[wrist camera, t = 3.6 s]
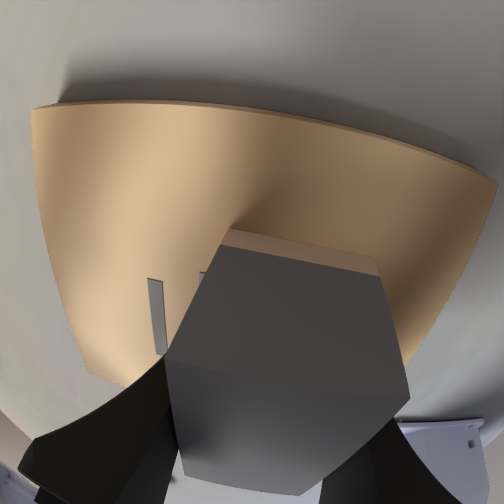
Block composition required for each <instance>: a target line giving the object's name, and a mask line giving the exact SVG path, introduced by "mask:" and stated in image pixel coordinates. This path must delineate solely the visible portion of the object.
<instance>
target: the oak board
mask: <svg viewBox="0 0 504 504" xmlns="http://www.w3.org/2000/svg"><path fill="white" fill-rule="evenodd" d="M31 139H32V154H33V165H34V174H35V183H36V190H37V197H38V204H39V210H40V216H41V221H42V226H43V231H44V236H45V241H46V245H47V250H48V254H49V258H50V262H51V266H52V270H53V273H54V277H55V281H56V284H57V287H58V291H59V294H60V297H61V301H62V304H63V307H64V310H65V313H66V316H67V319H68V321H69V324H70V327H71V330H72V333H73V335H74V338H75V340H76V343H77V346H78V348H79V351H80V353H81V355H82V358H83V360H84V363H85V365H86V367H87V369H88V372H89V373H91V374H93V375H96V376H98V377H100V378H103V379H105V380H108V381H110V382H113V383H115V384H118V385H121V386H123V387H126V388H128V387H129V386H130V385H131V384H133V383H134V382H135V381H136V380H137V379H139V378H140V377H141V376H142V375H143V374H144V373H145V372H146V371H148V370H149V369H150V368H151V367H152V366H153V365H154V364H155V363H156V362H157V361H158V360H159V359H160V358H161V357H162V356H163V355H164V354H165V353H166V352H167V351H168V348H169V346H170V344H171V342H172V340H173V338H174V336H175V334H176V332H177V330H178V328H179V326H180V323H181V321H182V319H183V317H184V315H185V313H186V311H187V309H188V307H189V305H190V303H191V301H192V299H193V297H194V295H195V293H196V291H197V289H198V287H199V285H200V283H201V281H202V279H203V277H204V275H205V273H206V271H207V269H208V267H209V265H210V263H211V261H212V259H213V257H214V255H215V253H216V251H217V249H218V247H219V245H220V243H221V241H222V239H223V238H224V236H225V234H226V232H227V230H228V228H231V229H236V230H241V231H246V232H251V233H256V234H261V235H266V236H271V237H276V238H281V239H286V240H291V241H296V242H301V243H306V244H311V245H316V246H321V247H326V248H330V249H335V250H340V251H345V252H349V253H354V254H359V255H363V256H368V257H373V258H374V260H375V264H376V267H377V270H378V273H379V276H380V279H381V282H382V285H383V289H384V292H385V295H386V299H387V302H388V306H389V309H390V313H391V316H392V320H393V324H394V327H395V331H396V335H397V339H398V343H399V347H400V351H401V355H402V360H403V364H404V367H405V366H406V364H407V363H408V361H409V360H410V359H411V357H412V356H413V354H414V353H415V351H416V350H417V348H418V347H419V345H420V344H421V342H422V341H423V339H424V338H425V336H426V335H427V333H428V332H429V330H430V328H431V327H432V325H433V324H434V322H435V320H436V319H437V317H438V315H439V314H440V312H441V310H442V309H443V307H444V305H445V303H446V302H447V300H448V298H449V296H450V294H451V293H452V291H453V289H454V287H455V285H456V283H457V281H458V279H459V278H460V276H461V274H462V272H463V270H464V268H465V266H466V263H467V261H468V259H469V257H470V255H471V253H472V251H473V249H474V246H475V244H476V242H477V240H478V237H479V235H480V233H481V230H482V228H483V225H484V223H485V220H486V218H487V215H488V213H489V210H490V207H491V205H492V202H493V199H494V196H495V194H496V191H497V188H498V185H499V184H498V183H497V182H495V181H494V180H492V179H491V178H489V177H488V176H486V175H485V174H483V173H481V172H480V171H478V170H476V169H474V168H472V167H469V166H467V165H464V164H462V163H460V162H457V161H455V160H452V159H450V158H447V157H444V156H442V155H439V154H436V153H434V152H431V151H428V150H425V149H422V148H420V147H417V146H414V145H411V144H408V143H405V142H401V141H398V140H395V139H392V138H389V137H385V136H382V135H378V134H375V133H371V132H368V131H364V130H360V129H356V128H353V127H349V126H345V125H340V124H336V123H332V122H327V121H323V120H318V119H314V118H309V117H304V116H298V115H293V114H288V113H282V112H276V111H270V110H263V109H256V108H249V107H241V106H233V105H224V104H214V103H202V102H189V101H170V100H97V101H79V102H66V103H56V104H52V105H47V106H43V107H39V108H35V109H31Z"/></svg>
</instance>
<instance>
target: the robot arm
mask: <svg viewBox="0 0 504 504" xmlns="http://www.w3.org/2000/svg"><path fill="white" fill-rule="evenodd" d="M166 353H167V352H166ZM166 353H165V354H164V355H163V356H162V357H161V358H160V359H159V360H158V361H157V362H156V363H155V364H154V365H153V366H152V367H151V368H150V369H149V370H148V371H146V372H145V373H144V374H143V375H142V376H141V377H140V378H139V379H137V380H136V381H135V382H134V383H133V384H131V385H130V386H129V387H128V388H126V389H125V390H124V391H122V392H121V393H120V394H118V395H117V396H116V397H114V398H113V399H111V400H110V401H108V402H107V403H105V404H104V405H102V406H101V407H99V408H98V409H96V410H94V411H93V412H91V413H89V414H87V415H86V416H84V417H82V418H80V419H78V420H76V421H74V422H72V423H70V424H69V425H66V426H64V427H62V428H60V429H57V430H55V431H53V432H50V433H48V434H45V435H43V436H40V437H38V438H35V439H34V440H33V442H32V443H31V445H30V446H29V447H28V449H27V451H26V452H25V454H24V456H23V458H22V460H21V462H20V464H19V466H18V471H19V472H20V473H21V474H23V475H24V476H25V477H27V478H28V479H29V480H31V481H32V482H34V483H35V484H37V485H38V486H40V488H39V489H37V488H36V487H34V486H32V485H31V484H30V483H29V481H27V480H26V479H25V478H23V477H22V476H21V475H19V474H18V473H16V472H15V471H14V470H13V469H11V468H10V467H9V466H7V465H6V464H4V463H3V462H2V461H0V504H164V500H165V496H166V493H167V489H168V485H169V481H170V478H171V474H172V470H173V467H174V463H175V460H176V456H177V453H178V450H179V446H178V441H177V436H176V431H175V425H174V420H173V414H172V408H171V402H170V396H169V389H168V382H167V375H166V368H165V360H164V357H165V355H166ZM483 424H484V420H483V419H472V420H461V421H448V422H427V423H397V422H396V420H395V419H394V417H392V419H391V420H390V421H389V422H388V423H387V424H386V425H385V426H384V427H383V428H382V429H381V430H379V431H378V432H377V433H376V434H375V435H374V436H373V437H372V438H371V439H370V440H369V441H368V442H367V443H366V444H365V445H363V446H362V447H361V448H360V449H359V450H358V451H357V452H356V453H354V454H353V455H352V456H351V457H350V458H349V459H347V460H346V461H345V462H344V463H343V464H341V465H340V466H339V467H338V468H336V469H335V470H334V471H333V472H331V473H330V474H329V475H328V476H326V477H325V478H324V479H323V482H322V489H321V495H320V500H319V504H486V503H487V500H488V495H489V481H488V475H487V469H486V463H485V458H484V453H483V448H482V444H481V439H480V435H479V431H478V428H479V427H481V426H482V425H483Z"/></svg>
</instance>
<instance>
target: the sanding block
mask: <svg viewBox="0 0 504 504" xmlns="http://www.w3.org/2000/svg"><path fill="white" fill-rule="evenodd" d="M164 360H165V368H166V375H167V382H168V389H169V396H170V402H171V408H172V414H173V420H174V425H175V431H176V436H177V441H178V446H179V451H180V456H181V460H182V465H183V469H184V474H185V476H189V477H192V478H196V479H200V480H204V481H208V482H212V483H217V484H221V485H226V486H231V487H236V488H242V489H247V490H254V491H260V492H267V493H275V494H284V495H295V496H300V495H302V494H303V493H305V492H306V491H307V490H309V489H310V488H312V487H313V486H314V485H316V484H317V483H318V482H320V481H321V480H322V479H324V478H325V477H326V476H328V475H329V474H330V473H331V472H333V471H334V470H335V469H336V468H338V467H339V466H340V465H341V464H343V463H344V462H345V461H346V460H347V459H349V458H350V457H351V456H352V455H353V454H354V453H356V452H357V451H358V450H359V449H360V448H361V447H362V446H363V445H365V444H366V443H367V442H368V441H369V440H370V439H371V438H372V437H373V436H374V435H375V434H376V433H377V432H378V431H379V430H381V429H382V428H383V427H384V426H385V425H386V424H387V423H388V422H389V421H390V420H391V419H392V417H393V416H394V415H395V414H396V413H397V412H398V411H399V410H400V409H401V408H402V407H403V406H404V405H405V404H406V403H407V402H408V400H409V399H410V393H409V388H408V383H407V378H406V373H405V369H404V364H403V360H402V355H401V351H400V347H399V343H398V339H397V335H396V331H395V327H394V324H393V320H392V316H391V313H390V309H389V306H388V302H387V299H386V295H385V292H384V289H383V285H382V282H381V279H380V276H379V273H378V270H377V267H376V264H375V260H374V258H373V257H368V256H363V255H359V254H354V253H349V252H345V251H340V250H335V249H330V248H326V247H321V246H316V245H311V244H306V243H301V242H296V241H291V240H286V239H281V238H276V237H271V236H266V235H261V234H256V233H251V232H246V231H241V230H236V229H231V228H228V230H227V232H226V234H225V236H224V238H223V239H222V241H221V243H220V245H219V247H218V249H217V251H216V253H215V255H214V257H213V259H212V261H211V263H210V265H209V267H208V269H207V271H206V273H205V275H204V277H203V279H202V281H201V283H200V285H199V287H198V289H197V291H196V293H195V295H194V297H193V299H192V301H191V303H190V305H189V307H188V309H187V311H186V313H185V315H184V317H183V319H182V321H181V323H180V326H179V328H178V330H177V332H176V334H175V336H174V338H173V340H172V342H171V344H170V346H169V348H168V351H167V353H166V355H165V357H164Z"/></svg>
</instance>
